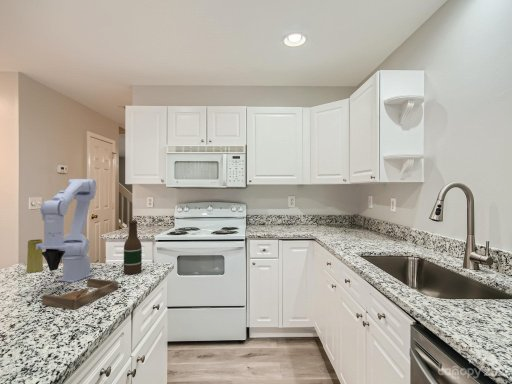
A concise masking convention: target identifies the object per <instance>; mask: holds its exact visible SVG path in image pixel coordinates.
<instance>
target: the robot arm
mask: <svg viewBox="0 0 512 384" xmlns="http://www.w3.org/2000/svg"><path fill="white" fill-rule="evenodd" d="M97 188H98V187H97V181H96V180H95V178H90V179H89V178H70V179H69V180H68V182H67V187H66V188H65V190H59V191H58V192H57V193H56V194H55V195H54V196H52V198H51V199H49V200H44V201H43V202H42V203H41V205H40V208H39V211H40V214H41V216H42V217H41V219H42V221H43V222H44V223H43V242H42V243H40V244H36V249H42V250H44V251H42V255H43V258H44V259H45V261H46V263H47V266H48V270H49V271H52V272H53V271H57V270H58V269H59V266H60V263H61V260H62V261H63V262H62V274H63V275H62V277H61V278H58V279H57V281H58V282H67V283H74V282H77V281H79V280H82V279H87V278H88V277H90V276H92V275H93V274H91V259H90V257H89V256H88V253H89V249H90V245H89V244H90V239H89V238H87V237H86V236H85V235H84V232H85V228H86V222H87V218H88V214H89V209H90V203H91V201H92V200H94V199H95V196H96V191H97ZM74 200H75V201H76V205H75V210H74V213H73V218H72V222H71V227H70V231H69V234H68V235H65V236H64V234H65V232H64V229H65V227H64V225H65V221H64V220H65V215H67V212H68V209H69V206H70V205H71V203H72V202H73V201H74Z"/></svg>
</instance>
